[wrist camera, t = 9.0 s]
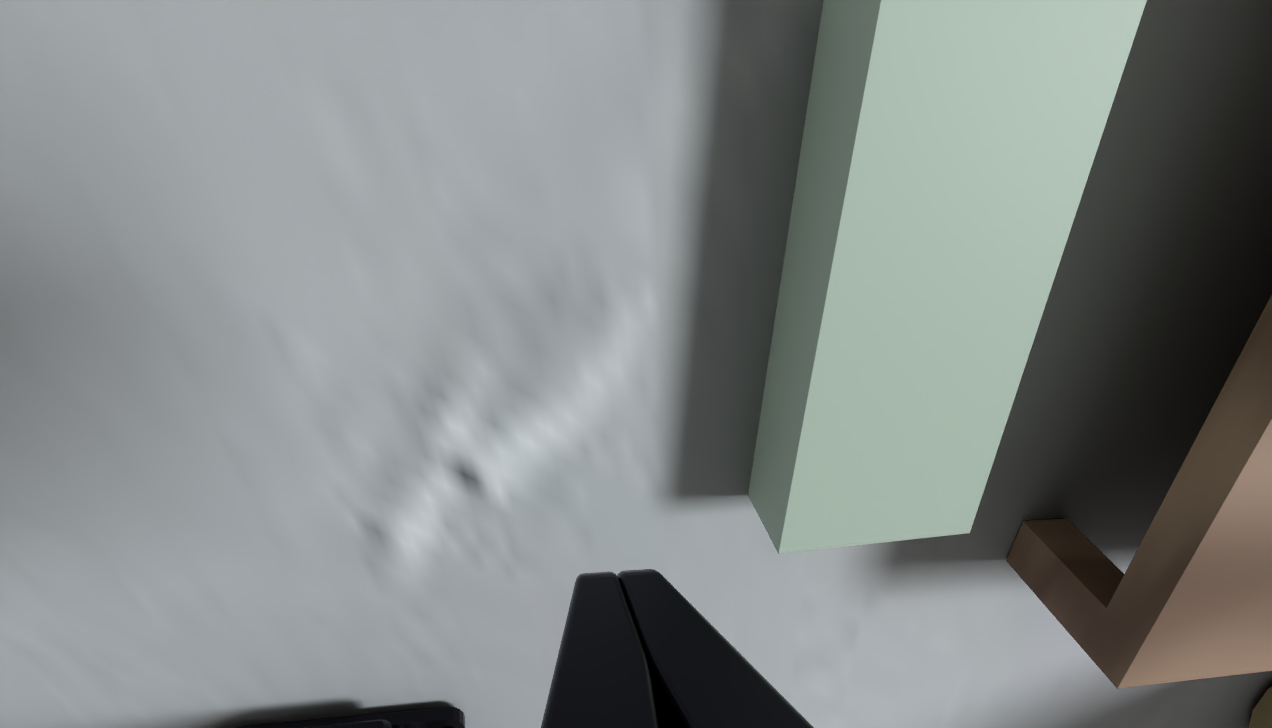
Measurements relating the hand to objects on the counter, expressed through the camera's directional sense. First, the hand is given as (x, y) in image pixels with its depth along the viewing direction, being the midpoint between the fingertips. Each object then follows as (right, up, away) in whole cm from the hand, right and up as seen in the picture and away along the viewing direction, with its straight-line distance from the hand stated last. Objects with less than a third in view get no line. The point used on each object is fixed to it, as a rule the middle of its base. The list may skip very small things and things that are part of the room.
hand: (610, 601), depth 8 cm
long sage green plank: (+6, +5, +10) cm, 12 cm away
